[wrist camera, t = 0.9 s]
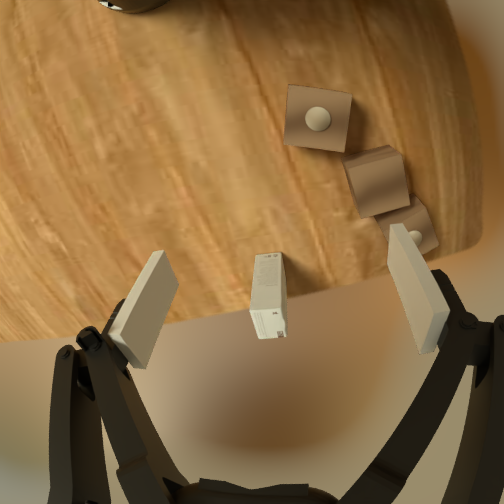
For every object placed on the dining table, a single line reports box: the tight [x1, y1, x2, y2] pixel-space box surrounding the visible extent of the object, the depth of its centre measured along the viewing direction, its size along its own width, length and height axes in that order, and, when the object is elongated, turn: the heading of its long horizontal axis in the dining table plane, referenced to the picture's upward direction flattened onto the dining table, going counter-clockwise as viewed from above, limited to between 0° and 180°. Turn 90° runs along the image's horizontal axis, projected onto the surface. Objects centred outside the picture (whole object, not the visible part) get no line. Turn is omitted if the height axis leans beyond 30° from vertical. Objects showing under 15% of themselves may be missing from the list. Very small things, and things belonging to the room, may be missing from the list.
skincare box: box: [249, 252, 287, 339], centre depth 42 cm, size 6×4×12 cm
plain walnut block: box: [341, 145, 410, 219], centre depth 35 cm, size 7×7×5 cm
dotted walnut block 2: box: [374, 193, 439, 255], centre depth 38 cm, size 7×7×5 cm
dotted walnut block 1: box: [284, 84, 352, 152], centre depth 31 cm, size 7×7×5 cm
